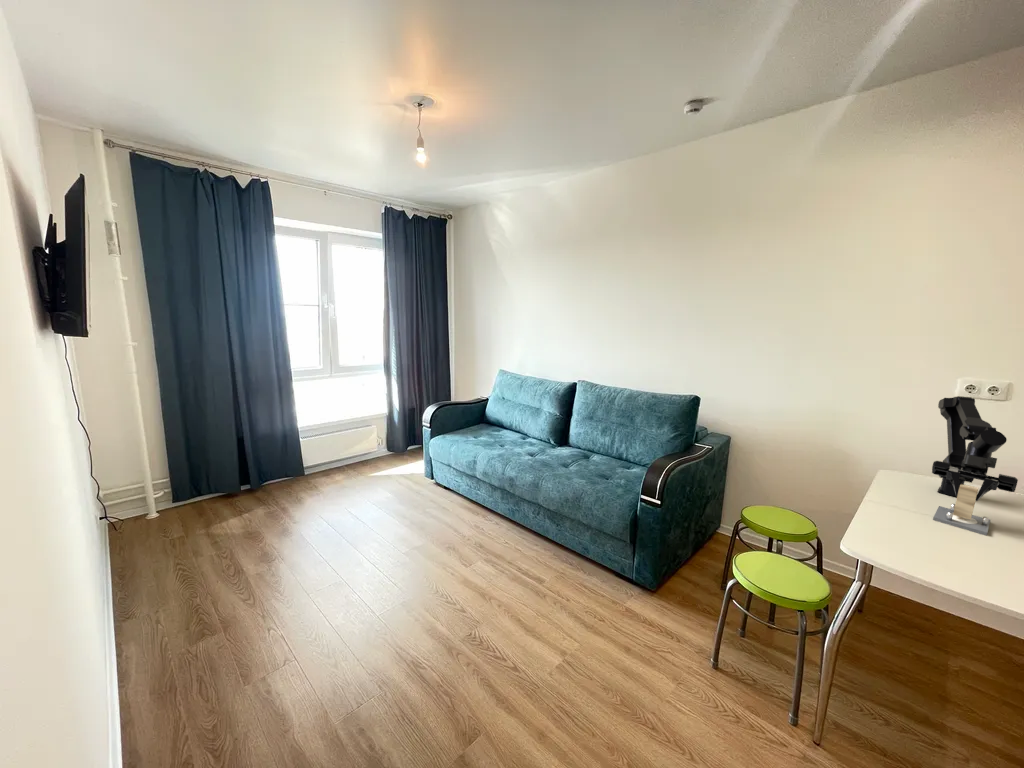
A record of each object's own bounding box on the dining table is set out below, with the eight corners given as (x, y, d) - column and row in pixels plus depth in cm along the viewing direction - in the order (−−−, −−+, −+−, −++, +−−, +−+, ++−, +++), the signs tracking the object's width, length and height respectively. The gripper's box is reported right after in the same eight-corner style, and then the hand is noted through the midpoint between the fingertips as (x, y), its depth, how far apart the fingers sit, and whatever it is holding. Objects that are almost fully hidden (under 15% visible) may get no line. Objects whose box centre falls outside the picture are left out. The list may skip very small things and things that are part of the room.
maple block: (954, 510, 139) (960, 483, 137) (971, 515, 136) (978, 487, 134) (952, 514, 137) (959, 487, 135) (970, 519, 134) (977, 491, 131)
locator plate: (938, 508, 145) (940, 499, 144) (989, 522, 136) (992, 512, 135) (932, 519, 138) (934, 510, 137) (986, 535, 128) (989, 525, 128)
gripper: (939, 438, 141) (927, 476, 137) (1024, 453, 127) (1014, 497, 122) (937, 454, 147) (926, 491, 143) (1019, 470, 133) (1009, 512, 129)
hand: (966, 497), depth 134 cm, fingers open, 4 cm apart
